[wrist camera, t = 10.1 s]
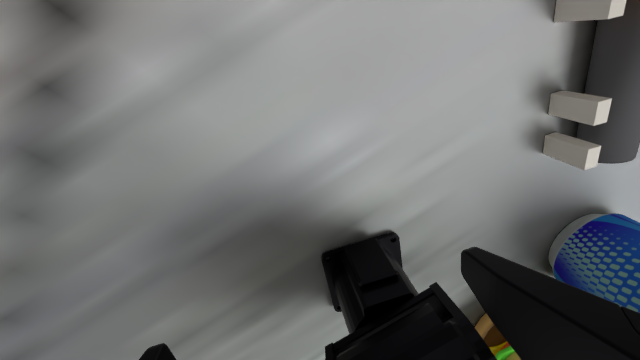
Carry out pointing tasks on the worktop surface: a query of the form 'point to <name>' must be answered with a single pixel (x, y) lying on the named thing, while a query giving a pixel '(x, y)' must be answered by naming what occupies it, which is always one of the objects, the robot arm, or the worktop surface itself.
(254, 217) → the worktop surface
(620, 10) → the cream arch-shaped block
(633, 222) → the beer can
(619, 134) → the stamp-like rod
